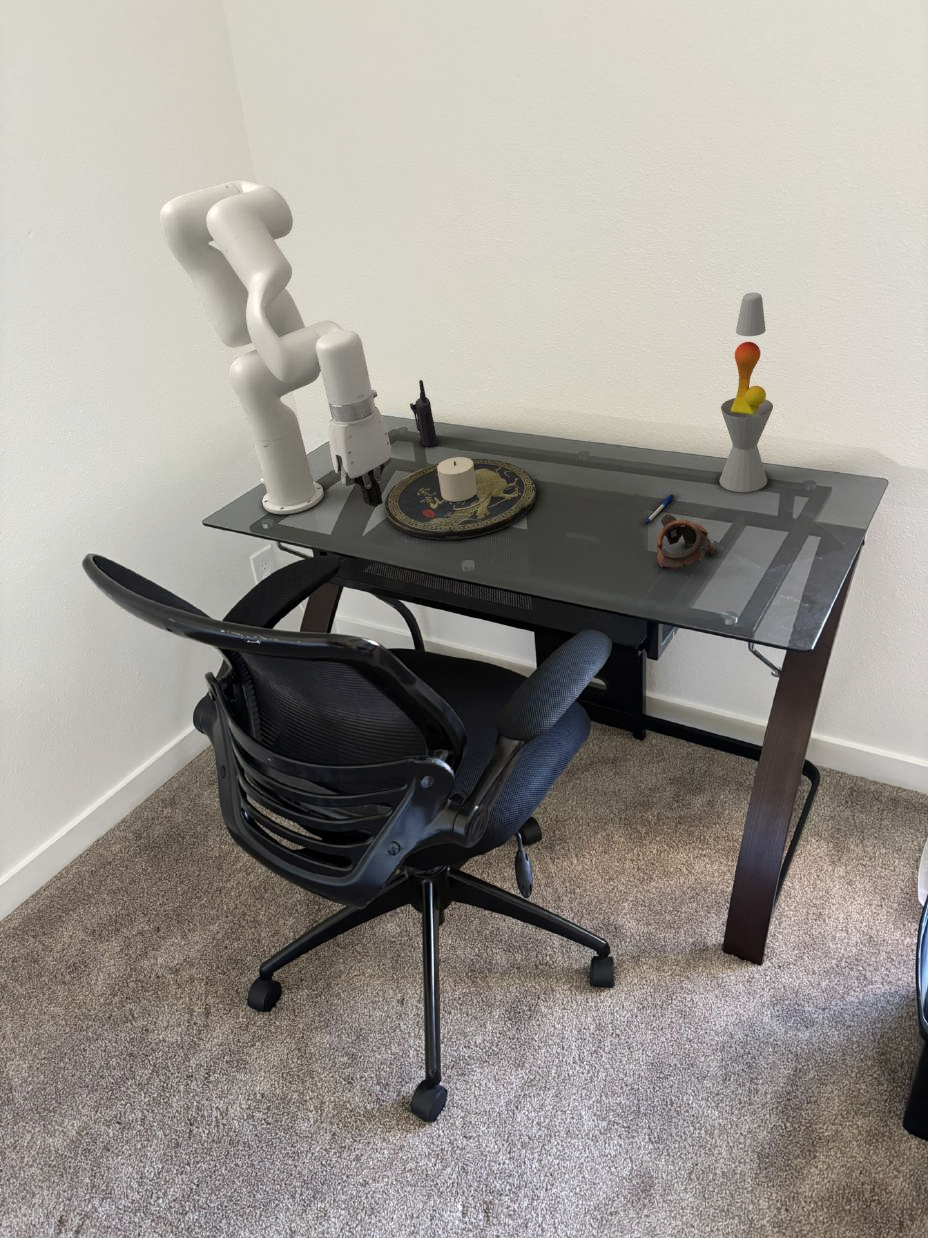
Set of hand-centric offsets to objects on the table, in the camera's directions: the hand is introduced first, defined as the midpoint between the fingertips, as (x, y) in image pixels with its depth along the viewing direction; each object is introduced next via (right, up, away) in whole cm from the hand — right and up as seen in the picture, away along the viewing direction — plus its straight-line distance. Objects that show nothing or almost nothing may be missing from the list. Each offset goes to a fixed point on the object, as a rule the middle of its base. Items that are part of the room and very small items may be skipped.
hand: (373, 503), depth 168 cm
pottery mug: (+53, -10, -8) cm, 55 cm away
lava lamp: (+69, +5, +10) cm, 70 cm away
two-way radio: (+8, +18, +41) cm, 45 cm away
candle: (+15, +4, +16) cm, 23 cm away
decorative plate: (+15, +2, +17) cm, 23 cm away
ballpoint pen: (+52, -1, +5) cm, 52 cm away
